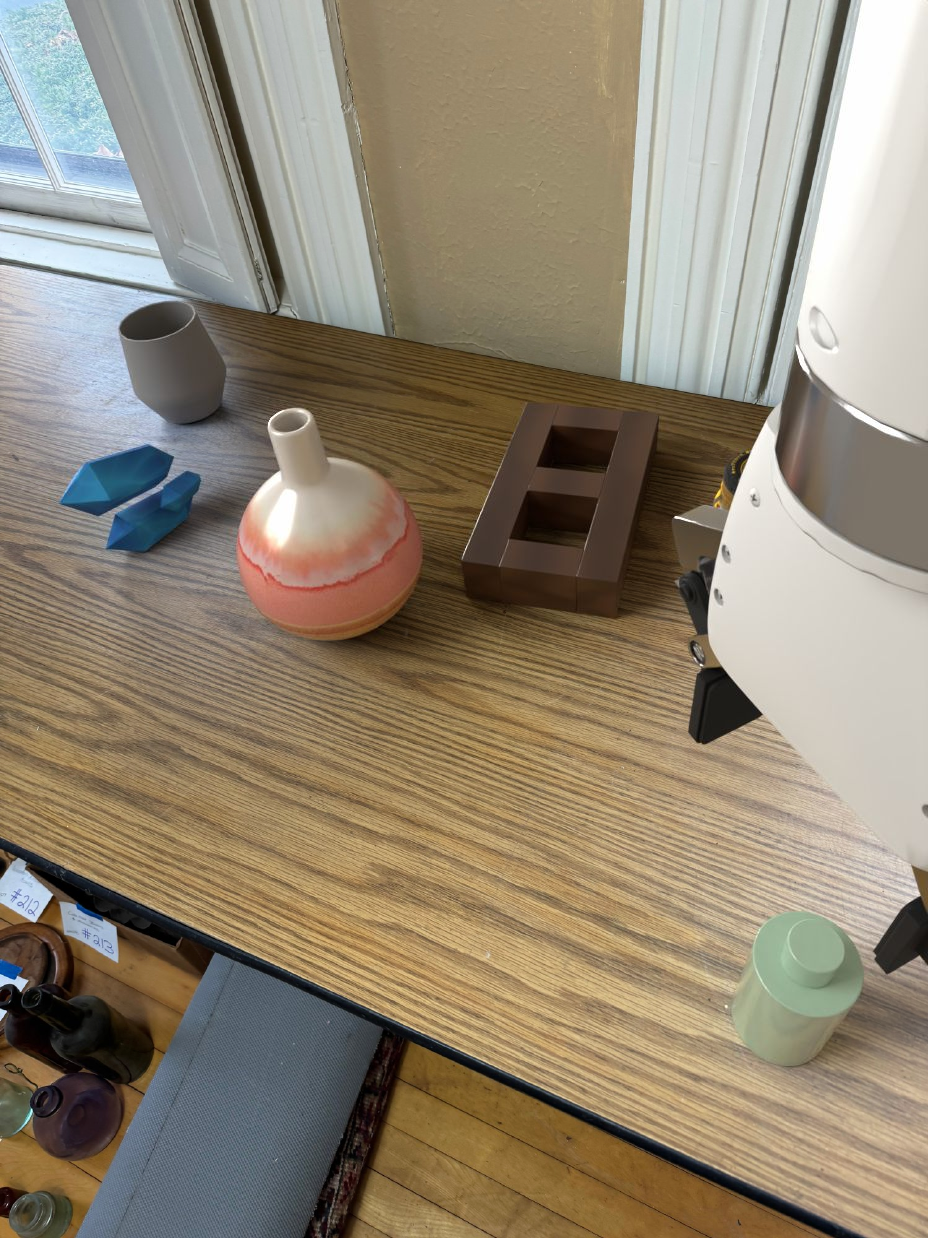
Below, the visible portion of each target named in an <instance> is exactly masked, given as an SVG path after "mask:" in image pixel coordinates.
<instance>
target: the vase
mask: <svg viewBox="0 0 928 1238" xmlns="http://www.w3.org/2000/svg"><path fill="white" fill-rule="evenodd" d="M267 430H268V435H269V438H270V442H271V445H272V447H273V452H274V455H275V458H276V461H277V465H278V467H279V470H278V471H277V472H275V474H273V475H271V477H269V478H268V479H267V480H266V481H265V482H264V483H263V484H262V485H260V487H259V489H257V491H256V492H255V494H254V495H253V497H252V498H251V499H250V501H249V502H248V504H247V506H246V509H245V510H244V512H243V514H242V517H241V520H240V523H239V527H238V530H237V537H236V548H235V551H236V561H237V562H236V563H237V567H238V574H239V577H240V581H241V584H242V586H243V588H244V590H245V593H246V595H247V597H248V599H249V600H250V602H251V603H252V604H253V605H254V607H255V608H256V610H257V611H258V612H259V613H260V615H262V616H263V617H264V618H265V619H266V620H267V621H269V622H270V623H271V624H272V625H274V626H276V627H277V628H279V629H281V630H282V631H284V632H286V633H289V634H292V635H293V636H298V637H299V638H303V639H309V640H314V641H323V642H324V641H325V642H327V641H329V642H330V641H331V642H332V641H341V640H347V639H352V638H355V637H359V636H362V635H364V634H367V633H368V632H369V633H370V632H371V631H373V630H376V629H377V628H379V627H380V626H382V625H384V624H385V623H386V622H388V621H389V620H391V619H392V618H393V617H394V616H395V615H396V614H397V613H398V612H399V611H400V610H401V609H402V608H403V606H404V605H405V604H406V603H407V602H408V600H409V599H410V597H411V596H412V594H413V592H414V590H415V588H416V587H417V584H418V582H419V578H420V575H421V571H422V568H423V557H424V547H423V538H422V532H421V529H420V525H419V522H418V521H417V518H416V516H415V513H414V510H413V509H412V507H411V505H410V504H409V502H408V501H407V499H406V498H405V496H404V495H403V494H402V492H401V491H400V490H399V489H398V488H397V487H396V486H395V485H394V484H393V483H392V482H391V481H389V480H388V479H387V478H386V477H385V476H384V475H382V474H380V473H379V472H378V471H376V470H374V469H372V468H371V467H368V466H366V465H364V464H361V463H359V462H356V461H352V460H349V459H345V458H339V457H330V456H329V457H328V456H327V453H326V451H325V448H324V444H323V441H322V438H321V435H320V431H319V429H318V424H317V422H316V419H315V417H314V415H313V414H312V413H311V411H309V410H307V409H305V408H301V407H292V408H287V409H283V410H281V411H279V412H277V413H276V414H274V415H273V416H272V417H271V418H270V420H269V421H268V424H267Z"/></svg>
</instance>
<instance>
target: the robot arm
mask: <svg viewBox="0 0 928 1238" xmlns="http://www.w3.org/2000/svg"><path fill="white" fill-rule="evenodd" d="M850 53H851V54H850V58H849V63H848V69H847V73H846V78H845V83H844V88H843V93H842V97H841V103H840V107H839V112H838V113H839V114H838V119H837V124H836V129H835V134H834V137H833V138H834V139H833V144H832V147H831V154H830V158H829V164H828V170H827V174H826V178H825V184H824V187H823V188H824V189H823V195H822V198H821V203H820V209H819V214H818V218H817V219H818V220H817V225H816V229H815V235H814V239H813V245H812V250H811V255H810V258H809V259H810V260H809V264H808V270H807V275H806V280H805V285H804V290H803V295H802V299H801V305H800V309H799V315H798V320H797V326H796V328H795V329H796V330H795V335H794V340H793V345H792V349H791V355H790V359H789V365H788V370H787V375H786V380H785V385H784V390H783V394H782V399H781V401H780V402H778V403H777V405H776V406H775V407H774V408H772V410H771V412H770V413H769V415H768V416H767V418H766V420H765V422H764V424H763V426H762V428H761V430H760V432H759V434H758V436H757V438H756V440H755V442H754V445H753V446H752V448H751V449H752V451H751V454H750V456H749V458H748V461H747V463H746V466H745V468H744V471H743V473H742V475H741V478H740V481H739V484H738V487H737V490H736V492H735V495H734V498H733V501H732V504H731V507H730V510H729V511H728V510H724V509H720V508H717V507H713V505H709V504H702V505H700V506H699V505H698V506H697V507H695V508H692V509H690V510H687V511H686V512H683V513H681V514H678V515H676V516H674V517H673V518H671V522H670V523H671V525H670V526H671V531H672V535H673V541H674V545H675V549H676V554H677V557H678V558H677V559H678V563H679V566H680V567H681V568H683V569H684V573H685V574H682V575H680V577H679V578H678V579H679V587H680V588H679V587H678V593H679V595H680V597H681V598H682V599H683V600H684V604H685V606H686V608H687V611H688V614H689V616H690V619H691V621H692V625H693V626H694V629H695V631H696V634H694V635H692V636H689V637H688V639H687V649H688V652H689V655H690V657H691V659H692V660H693V662H694V663H695V664H696V665H697V666H698V667H700V671H699V672H698V673H696V675H695V683H694V690H693V695H692V701H691V702H692V703H691V708H690V716H689V722H688V728H687V733H688V734H689V736H690V737H691V738H692V739H693V740H694V742H695V743H696V744H701V745H702V746H703V745H708V744H710V743H712V742H714V741H716V740H717V739H720V738H722V737H723V736H726V735H728V734H730V733H732V732H733V731H734V732H735V731H736V730H738V729H740V728H742V727H744V726H745V725H748V724H749V723H752V722H754V721H755V720H758V719H759V718H761V717H762V716H764V717H765V719H766V720H768V722H769V723H770V724H771V725H772V726H773V728H775V729H776V730H777V732H778V733H779V734H780V735H781V737H783V738H784V740H785V741H787V743H788V744H789V745H790V746H791V747H792V748H793V749H794V750H795V752H796V753H797V754H798V755H799V756H800V758H802V760H803V761H805V763H807V765H808V766H809V767H810V768H811V769H812V770H813V771H814V772H815V774H817V775H818V776H819V778H820V779H821V780H822V781H823V782H824V783H825V784H826V786H828V788H829V789H830V790H831V791H832V792H833V793H834V794H835V795H836V796H837V797H838V798H839V800H841V802H842V803H843V804H844V805H845V806H846V807H847V808H848V809H849V810H850V811H851V812H852V813H853V815H855V816H856V818H857V819H858V820H859V821H860V822H861V823H862V824H863V825H864V826H865V827H866V828H867V829H868V831H870V832H871V833H872V834H873V835H874V836H875V837H876V838H877V839H878V840H879V842H881V843H882V844H883V845H884V846H885V847H886V848H887V849H889V850H890V851H891V853H893V854H894V855H895V856H897V857H898V858H900V859H901V860H902V861H904V862H905V863H907V864H909V865H910V866H911V870H912V873H913V876H914V879H915V883H916V886H917V888H918V891H919V896H917V897H916V898H913V899H912V900H911V901H909V902H907V903H906V904H905V905H904V906H902V907H901V908H900V909H899V911H898V913H897V914H896V916H895V917H894V919H893V920H892V922H891V923H890V925H889V927H888V928H887V929H886V931H885V932H884V934H883V936H882V937H881V938H880V940H879V942H878V943H877V944H876V946H875V947H874V949H873V950H872V953H873V954H874V955H875V957H874V961H875V963H876V964H877V966H878V967H879V968H880V969H881V970H882V971H883V973H884V974H885V975H889V974H891V973H893V972H895V971H897V970H899V969H900V968H901V967H903V966H905V965H907V964H908V963H910V962H912V961H913V960H915V959H916V958H918V957H920V958H921V959H922V961H923V962H924V963H925V964H926V965H927V966H928V0H861V2H860V7H859V12H858V18H857V22H856V27H855V33H854V37H853V43H852V48H851V51H850Z"/></svg>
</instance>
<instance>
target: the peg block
mask: <svg viewBox="0 0 928 1238" xmlns="http://www.w3.org/2000/svg"><path fill="white" fill-rule="evenodd" d="M659 425H660V413H659V412H651V411H640V410H639V411H637V410H628V409H627V410H625V409H616V408H614V409H613V408H602V407H591V406H581V405H580V406H579V405H569V404H568V405H567V404H553V403H541V402H529V401H526V403H525V405H524V408H523V410H522V413H521V415H520V417H519V420H518V422H517V425H516V428H515V430H514V432H513V435H512V437H511V439H510V441H509V444H508V446H507V448H506V452H505V454H504V456H503V458H502V461H501V463H500V465H499V468H498V471H497V473H496V475H495V478H494V480H493V482H492V485H491V487H490V489H489V492H488V494H487V497H486V499H485V502H484V504H483V507H482V509H481V511H480V514H479V516H478V519H477V521H476V523H475V525H474V528H473V530H472V533H471V536H470V538H469V539H468V543H467V545H466V548H465V550H464V552H463V554H462V557H461V560H460V564H461V571H462V577H463V584H464V589H465V590H464V591H465V595H466V598H473V599H479V600H487V601H492V602H500V603H507V604H514V605H519V606H526V607H534V608H541V609H548V610H554V611H561V612H568V613H573V614H574V613H575V614H576V613H577V614H580V615H581V614H583V615H587V616H596V617H602V618H608V619H609V618H610V619H617V615H618V611H619V607H620V604H621V599H622V595H623V591H624V586H625V584H626V583H625V582H626V578H627V575H628V570H629V566H630V562H631V559H632V558H631V557H632V553H633V549H634V545H635V542H636V538H637V533H638V529H639V524H640V520H641V517H642V513H643V508H644V504H645V500H646V495H647V492H648V488H649V483H650V479H651V475H652V472H653V467H654V462H655V460H656V456H657V455H656V454H657V450H658V438H659ZM554 462H559V463H567V464H568V463H569V464H578V465H587V466H598V467H606V468H607V470H606V473H601V472H591V471H582V470H571V469H561V468H552V465H553V463H554ZM530 527H532V528H533V527H534V528H541V529H549V530H557V531H564V532H574V533H581V534H587V538H586V542H585V545H584V548H583V547H575V546H567V545H559V544H552V543H543V542H538V541H537V542H536V541H530V540H529V541H527V540H526V538H527V535H528V532H529V529H530Z"/></svg>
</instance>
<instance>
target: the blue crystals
mask: <svg viewBox="0 0 928 1238" xmlns="http://www.w3.org/2000/svg"><path fill="white" fill-rule="evenodd" d="M174 459H175V456H174V455H172V454H170V453H168V452H165V451H164V450H161V449H159V448H158V447H156V446H153V445H151V444H149V443H146V444H143V445H139V446H136V447H133V448H128V449H125V450H123V451H119V452H115V453H112V454H108V455H105V456H102V457H98V458H95V459H91V460H88V461H86V462H84V464H83V465H82V466H81V467H80V468H79V470H77V472H76V473H75V474H74V475H73V477H72V478H71V481H70V482H69V483H68V485H67V487H66V489H65V491H64V493H63V495H62V497H61V499H60V500H59V502H58V505H60V506H65V507H67V508H70V509H73V510H76V511H80V512H83V513H86V514H89V515H91V516H95V517H101V516H102V515H104V514H106V513H108V512H110V511H112V510H114V509H116V508H118V507H120V506H122V505H124V504H126V503H127V502H130V501H131V500H133V499H135V498H137V497H139V496H141V495H143V494H145V493H147V492H149V491H152V490H154V489H155V488H157V486H159V485H160V484H161V483H162V482H163V481H164V480H165V479H166V478H168V476H169V473H170V470H171V467H172V466H173V465H172V464H173V462H174ZM201 484H202V477H201V474H200V473H198V472H197V473H196V472H194V471H190V470H185V471H183V473H181V474H179V475H178V476H176V477H175V478H173V479H172V480H169V482H167V483H166V484H164V485H163V486H162V489H160V490H158V491H156V492H154V493H152V494H151V495H148V496H147V497H145V498H143V499H141V500H139V501H137V502H135V503H133V504H132V505H129V506H127V507H125V508H124V509H122V510H120V511H118V512H116V513H114V516H113V519H112V524H111V527H110V531H109V535H108V538H107V543H106V546H105V550H112V551H125V552H137V553H138V552H140V553H145V552H147V551H148V550H149V549H151V547H152V548H153V546H154V545H156V544H157V543H158V542H159V541H161V540H162V539H163V538H165V537H166V536H167V535H169V534H170V533H171V532H172V531H173V530H174V529H176V528H177V527H179V526H180V525H181V524H182V523H183V522H185V521H186V520H187V519H189V517H190V514H191V510H192V509H191V508H192V504H193V498H194V496H196V494H197V493H198V492H199V490H200V486H201Z"/></svg>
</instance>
